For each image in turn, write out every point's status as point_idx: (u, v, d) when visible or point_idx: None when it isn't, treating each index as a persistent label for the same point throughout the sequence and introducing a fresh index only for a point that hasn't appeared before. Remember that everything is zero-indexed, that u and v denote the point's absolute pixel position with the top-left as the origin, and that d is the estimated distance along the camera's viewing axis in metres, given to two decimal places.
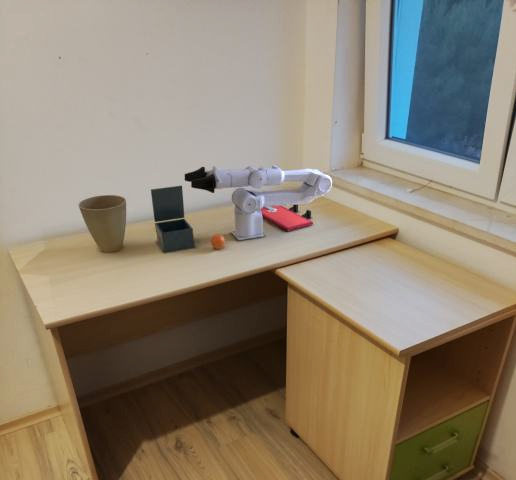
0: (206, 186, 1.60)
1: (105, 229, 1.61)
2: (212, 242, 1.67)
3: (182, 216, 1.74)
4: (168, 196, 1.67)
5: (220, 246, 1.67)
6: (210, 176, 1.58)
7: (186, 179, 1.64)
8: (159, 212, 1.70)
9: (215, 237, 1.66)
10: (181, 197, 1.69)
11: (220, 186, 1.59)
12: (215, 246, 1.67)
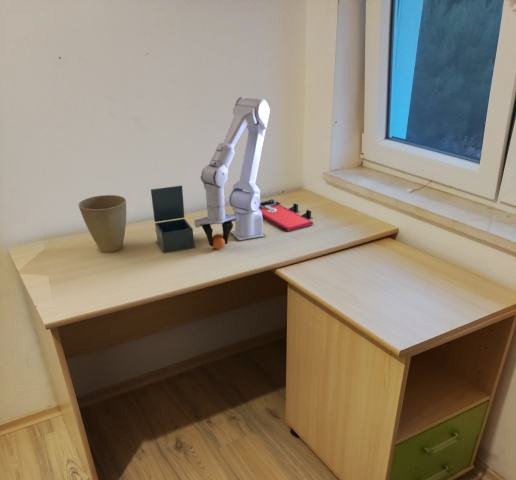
0: None
1: (105, 229, 1.61)
2: None
3: (182, 216, 1.74)
4: (168, 196, 1.67)
5: (220, 246, 1.67)
6: (230, 228, 1.65)
7: None
8: (159, 212, 1.70)
9: (215, 237, 1.66)
10: (181, 197, 1.69)
11: None
12: (215, 246, 1.67)
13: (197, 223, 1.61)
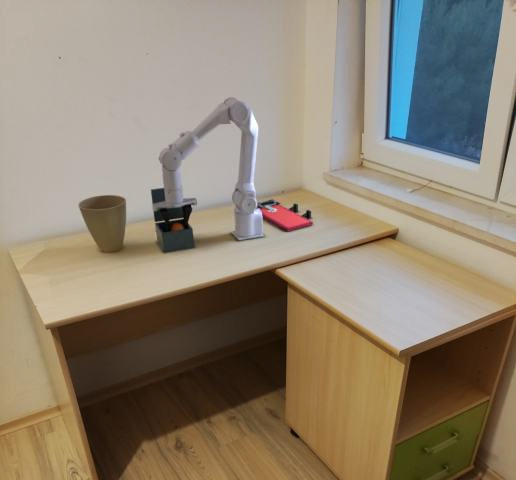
0: None
1: (105, 229, 1.61)
2: None
3: (182, 216, 1.74)
4: None
5: None
6: (189, 212, 1.65)
7: None
8: (159, 212, 1.70)
9: (174, 226, 1.67)
10: None
11: None
12: None
13: (154, 207, 1.61)
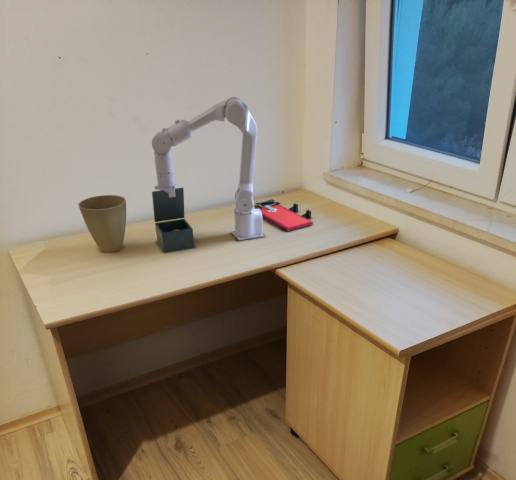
0: None
1: (105, 229, 1.61)
2: None
3: (182, 216, 1.74)
4: (169, 198, 1.67)
5: None
6: None
7: None
8: (159, 213, 1.69)
9: None
10: (182, 199, 1.69)
11: (172, 193, 1.62)
12: None
13: None
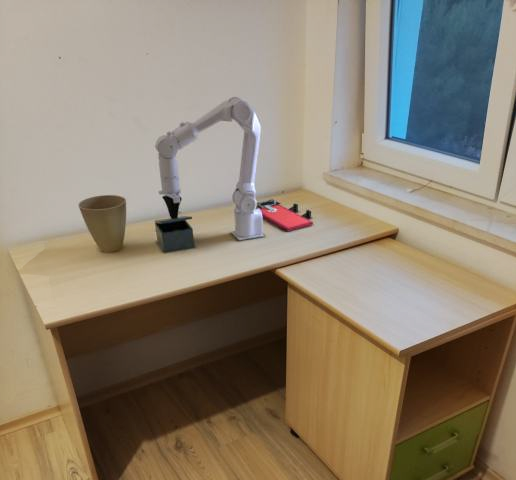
0: (175, 204, 1.65)
1: (105, 229, 1.61)
2: None
3: None
4: None
5: None
6: (166, 202, 1.63)
7: None
8: None
9: None
10: None
11: (177, 199, 1.58)
12: None
13: None
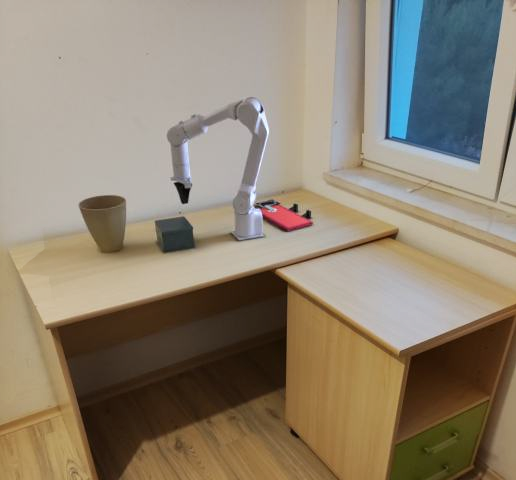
0: (186, 190, 1.74)
1: (105, 229, 1.61)
2: None
3: None
4: None
5: None
6: (177, 188, 1.72)
7: None
8: None
9: None
10: None
11: (188, 184, 1.67)
12: None
13: None
